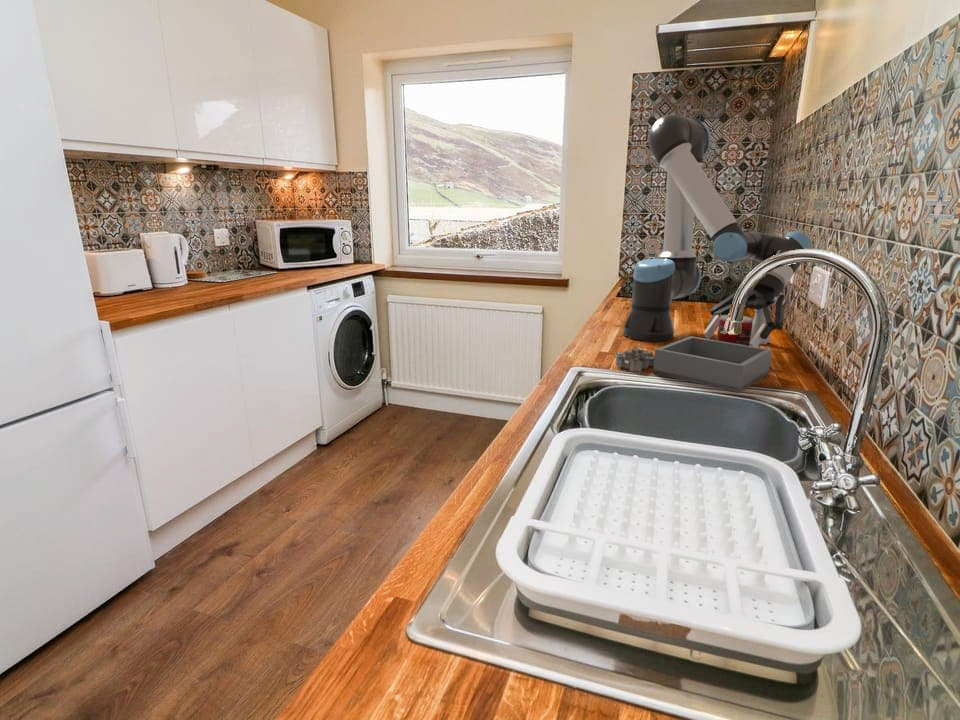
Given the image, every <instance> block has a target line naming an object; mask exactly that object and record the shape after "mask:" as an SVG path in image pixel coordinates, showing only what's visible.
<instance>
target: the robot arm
mask: <svg viewBox="0 0 960 720" xmlns="http://www.w3.org/2000/svg"><path fill="white" fill-rule="evenodd" d="M647 139H648V147H649V149H650V152H651V154H652V157H653V158H654V159H655V161H656V162H657V164H658V165H659V167H660V168H661V169H664V170H665V171H666V173H667V174H666V175H667V176H666V190H665V191H666V193H665V197H666V198H665V209H664V210H665V211H664V212H665V213H664V231H663V247H662V249H663V250H662V252H660V253H659V254H658V255H657V258H647V259H642V260H640V261H638V262H637V263H636V264H635V266H634V270H633V274H632V275H633V276H632V277H633V281H632V290H631V291H632V293H631V303H630V304H631V305H630V312H629V314H628V317H627V319H626V321H625V324H624V325H623V331H622V334H624V335H626V336H628V337H627V338H629V337H631V338H630V339H633V338H635V339H634V340H638V339H639V341H648V342H662V341H672V340H673V339H674V336H675V335H674V334H675V331H674V330H675V329H674V325H673V321H672V316H671V308H672V300H675V299H682V298H685V297H687V296H690V295H692V294H694V292H695V291H697V290H698V288H699V286H700V284H701V280H702V272H701V269H700V267H699V266H698V264H697V255H696V253H694V251H693V237H694V222H695V221H694V220H695V216H696V217H697V219H698V220H699V222H700V223H701V225H702V227H703V228H704V229H705V231H706V233H707V234H708V236H709V238H710V239H711V241H712V242H713V244H712V252H713V254H714V256H715V257H716V258H717V260H720V261H722V262H730V263H733V262H737V261H746V260H754V261H758V262H760V263H761V262H762V261H763V260H765V259H767V258H769V257H771V256H773V255H776V254H778V253H782V252H785V251H789V250H795V249H804V248H811V249H812V247H813V241H812V240H811V238H810V236H809V235H807V234H806V233H805V232H802V231H796V230H795V231H789V232H788V233H786V234H785V235H784V236H783V237H781V236H775V235H771V234H767V233H764V232H759V231H755V230H753V229H746V228H742V227H741V226H740V224H739V223H738V221H737V220H736V218H735V217H734V215H733V214H732V212H731V210H730V209H729V207H728V205H726V203H725V201H724V200H723V198H722V197H721V195H720V193H719V192H718V191H717V190H716V188H715V187H714V185H713V183H712V181H710V179H709V178H708V176H707V174H706V173H705V171H704V170H703V168H702V166H703V164H704V156H705V155H706V154H707V152H708V151H709V149H710V147H711V142H712V135H711V132H710V129H709V128H708V126H707V125H706V124H705V123H704V122H703V121H701V120H699V119H697V118H693V117H686V116H682V115H680V114H679V115H678V114H672V113H671V114H667V115H666V114H665V115H664V116H661V117H659V119H657V120H656V121H655V122H654V124H652V126H651V127H650V131H649V132H648V138H647ZM762 263H763V262H762ZM801 264H802V263H796V264H791V265H786V266H783V267H780V268H778V269H775V270H774V271H772V272H770V273H769V274H767V275H766V276H765V277H764V278H763V279H761V280H760V281H759V282H758V284H757V285H756V286H755V288H754V289H753V290H752V292H751V294H750V296H749V299H748V302H747V305H746V307H745V310H746V309H750V310H755V309H756V310H760V309H763V313H764V316H765V319H766V324H762V326H761V327H760V328H759V330H758V331H757V333H756V334H755V336H754V337H753V338H752V340H751V341H750V343H749V346H752V347H758V348H759V347H760V345H761V344H760V343H761V342H762V340H763V339H766V338H767V337H768V336H769V337H770V334H771V333H772V332H773V331H774V330H778V331H781V330H783V328H784V317H785V315H784V314H785V313H784V312H785V311H784V310H785V306H786V305H787V303H788V302H787V299H786V297H785V294H781V293H782V292H783V290H784V289H785V287H786V286H787V285H788V283H789V282H790V280H791V279H792V278H793V276H794V275H795V273H796V272H797V270H798V269H799V267H800V266H801ZM737 289H738V288H736V289H735V290H734V291H733V293H731V294H730V295H729V296H727V297H726V298H725V299H723V300H722V301H720V302H719V303H718V304H716V305H714V306H713V307H712V308H710V309H709V312H710V314H711V316H712V317H711V318H710V320H709V321H708V323H707V327H706V328H705V330H704V331H703V334H704V336H705V339H710V340H711V338H712V337H713V335H714V334H715V333H716V331H718V328H719V321H720V316H722V315H728V313H729V310H730V307H731V303H732V300H733V297H734V295H735V292H736V290H737ZM774 303H775V312H774V313H775V316H774V321H773V318H772V315H771V311H770V307H769V306H771V305H773V304H774ZM624 335H623V336H624ZM626 336H625V337H626Z"/></svg>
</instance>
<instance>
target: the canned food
mask: <svg viewBox="0 0 960 720" xmlns="http://www.w3.org/2000/svg"><path fill="white" fill-rule="evenodd" d="M727 316H728V315H722V316H720V321H719V327H718V328H717V337H716V341H722V342H728V343H734V344H740V345H746V346H750V344H749V343H750V337H751V331H752V323H753V320H754V318H752V317H750V316H745V315H742V316H743V323H742V331H741V333H740V334H738V335H729V334H728V333H726V332H724V324H725V321H726V319H727Z"/></svg>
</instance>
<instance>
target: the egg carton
mask: <svg viewBox="0 0 960 720" xmlns="http://www.w3.org/2000/svg"><path fill="white" fill-rule="evenodd" d="M654 357H655V354H653V352H652V351H650V352H649V351H648V350H644V349H640V348H638V347H636V346H635V347H633V348H631V349H629V350H625V351H623V352H620V353H619V352H616V353H615V354H614V359H616V362H615V363H616V364H615V366H616V365H618V366H617V368H618V367H625V368H624V369H628V368H629V369H628V370H629V371H630V370H632V371H631V372H641V371H642V370H643V369H649V367H654Z"/></svg>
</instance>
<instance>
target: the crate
mask: <svg viewBox="0 0 960 720" xmlns="http://www.w3.org/2000/svg"><path fill="white" fill-rule="evenodd" d="M772 354H773V349H770V348H763V347H759V346H758V347H752V346H750V345H749V346H746V345H740V344H734V343H728V342H722V341H717V339H716V340H715V339H711V338H710V339H707V338H704V337H697V336H692V335H691V336H688V337H685V338H682V339H679V340H677V341H674V342H670V343H669V344H665V345H663V346H659V347H658V348H655V349H654V355H655V357H654V366H652V368H653V370H652V374H654V375H658V376H663V377H666V378H672V379H677V380H680V381H684V382H689V383H694V384H697V385H703V386H708V387H712V388H717V389H721V390H724V391H725V390H726V391H730V392H733V393H734V392H735V393H741V392H743V391H744V390H746V389H747V388H749V387H751V386H752V385H754V384H755V383H757V382H758V381H760V380H762V379H763V378H764V377H767V375H769V373H770V367H771V360H772ZM750 385H751V386H750Z"/></svg>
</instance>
